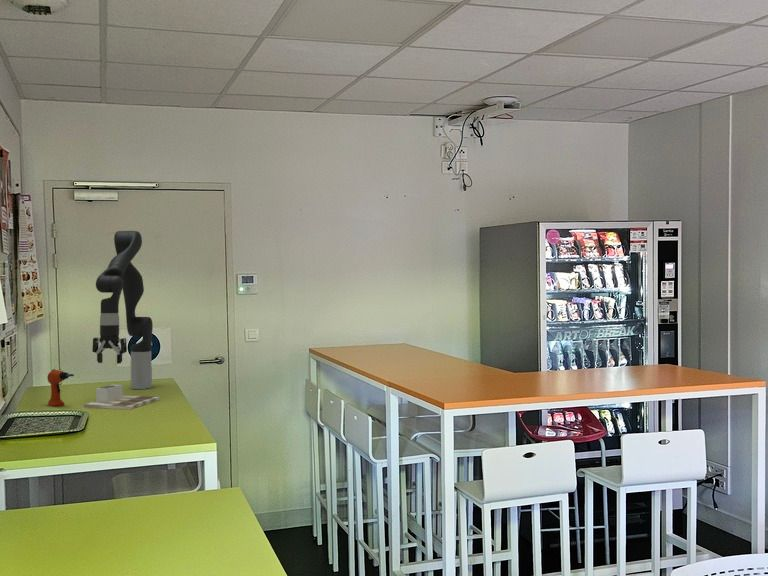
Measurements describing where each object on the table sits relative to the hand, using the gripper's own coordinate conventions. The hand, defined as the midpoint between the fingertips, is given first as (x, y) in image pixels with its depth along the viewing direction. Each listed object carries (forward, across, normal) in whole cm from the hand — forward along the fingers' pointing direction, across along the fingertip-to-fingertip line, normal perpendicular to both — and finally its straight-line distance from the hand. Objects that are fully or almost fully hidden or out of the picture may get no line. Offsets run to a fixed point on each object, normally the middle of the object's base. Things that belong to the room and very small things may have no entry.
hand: (109, 363), depth 320 cm
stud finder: (+15, 0, 0) cm, 15 cm away
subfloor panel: (+16, -6, 0) cm, 18 cm away
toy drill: (+17, +14, +12) cm, 25 cm away
